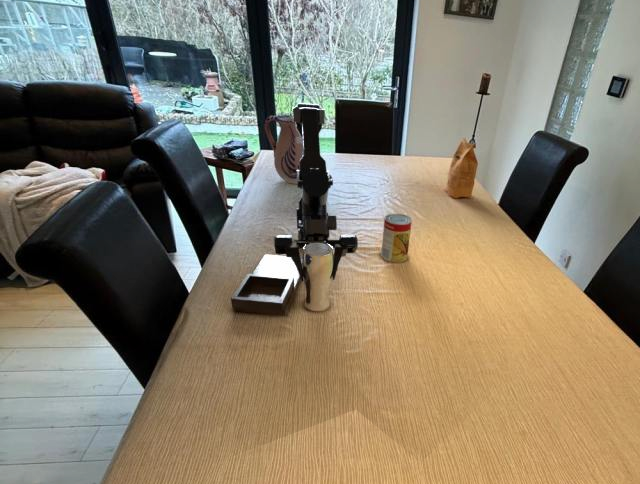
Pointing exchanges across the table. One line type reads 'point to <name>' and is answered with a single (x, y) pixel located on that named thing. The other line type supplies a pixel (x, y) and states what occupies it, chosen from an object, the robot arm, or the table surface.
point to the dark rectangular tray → (268, 287)
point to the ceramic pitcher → (286, 147)
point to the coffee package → (462, 171)
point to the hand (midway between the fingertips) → (318, 280)
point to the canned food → (396, 237)
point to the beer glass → (317, 274)
